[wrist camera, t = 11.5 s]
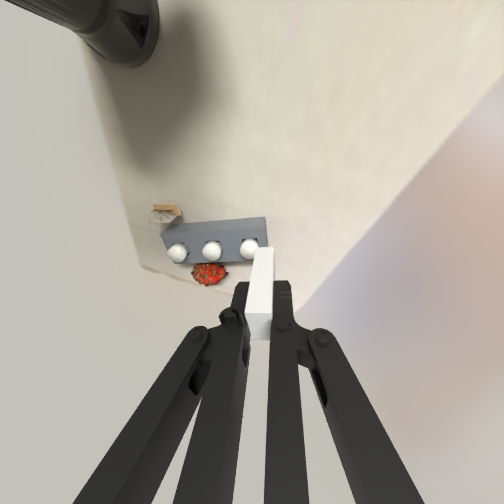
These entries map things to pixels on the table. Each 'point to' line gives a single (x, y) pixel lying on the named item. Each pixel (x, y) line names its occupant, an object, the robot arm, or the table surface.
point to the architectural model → (165, 213)
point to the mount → (216, 238)
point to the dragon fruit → (208, 273)
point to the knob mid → (212, 250)
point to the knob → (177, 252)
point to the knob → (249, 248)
